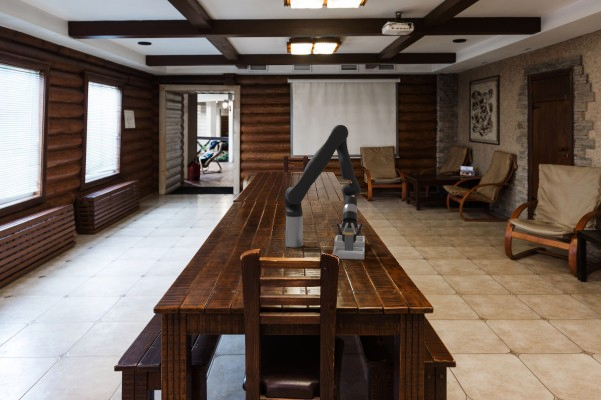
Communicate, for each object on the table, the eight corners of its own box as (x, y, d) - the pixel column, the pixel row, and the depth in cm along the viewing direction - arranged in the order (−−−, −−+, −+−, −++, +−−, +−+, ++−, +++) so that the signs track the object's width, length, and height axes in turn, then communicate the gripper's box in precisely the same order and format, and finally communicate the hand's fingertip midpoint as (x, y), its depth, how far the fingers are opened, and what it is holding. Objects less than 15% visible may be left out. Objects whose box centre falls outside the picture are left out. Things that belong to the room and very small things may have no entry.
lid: (332, 258, 250) (332, 253, 250) (334, 251, 264) (334, 246, 263) (364, 259, 248) (364, 254, 247) (364, 252, 262) (364, 247, 261)
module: (344, 250, 253) (344, 229, 251) (345, 248, 258) (345, 227, 256) (353, 250, 253) (353, 229, 251) (353, 248, 258) (353, 227, 256)
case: (334, 251, 264) (334, 242, 263) (336, 244, 279) (336, 235, 278) (364, 252, 262) (364, 242, 261) (364, 244, 277) (364, 236, 276)
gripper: (336, 210, 260) (334, 237, 251) (363, 210, 259) (363, 238, 249) (337, 217, 267) (335, 245, 257) (363, 218, 265) (363, 245, 255)
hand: (349, 241), depth 253 cm, fingers closed on module, 4 cm apart
